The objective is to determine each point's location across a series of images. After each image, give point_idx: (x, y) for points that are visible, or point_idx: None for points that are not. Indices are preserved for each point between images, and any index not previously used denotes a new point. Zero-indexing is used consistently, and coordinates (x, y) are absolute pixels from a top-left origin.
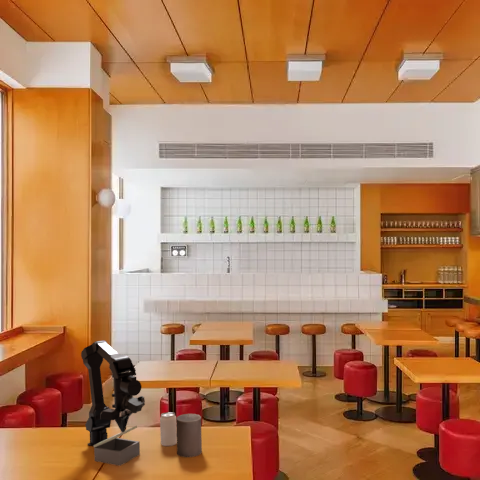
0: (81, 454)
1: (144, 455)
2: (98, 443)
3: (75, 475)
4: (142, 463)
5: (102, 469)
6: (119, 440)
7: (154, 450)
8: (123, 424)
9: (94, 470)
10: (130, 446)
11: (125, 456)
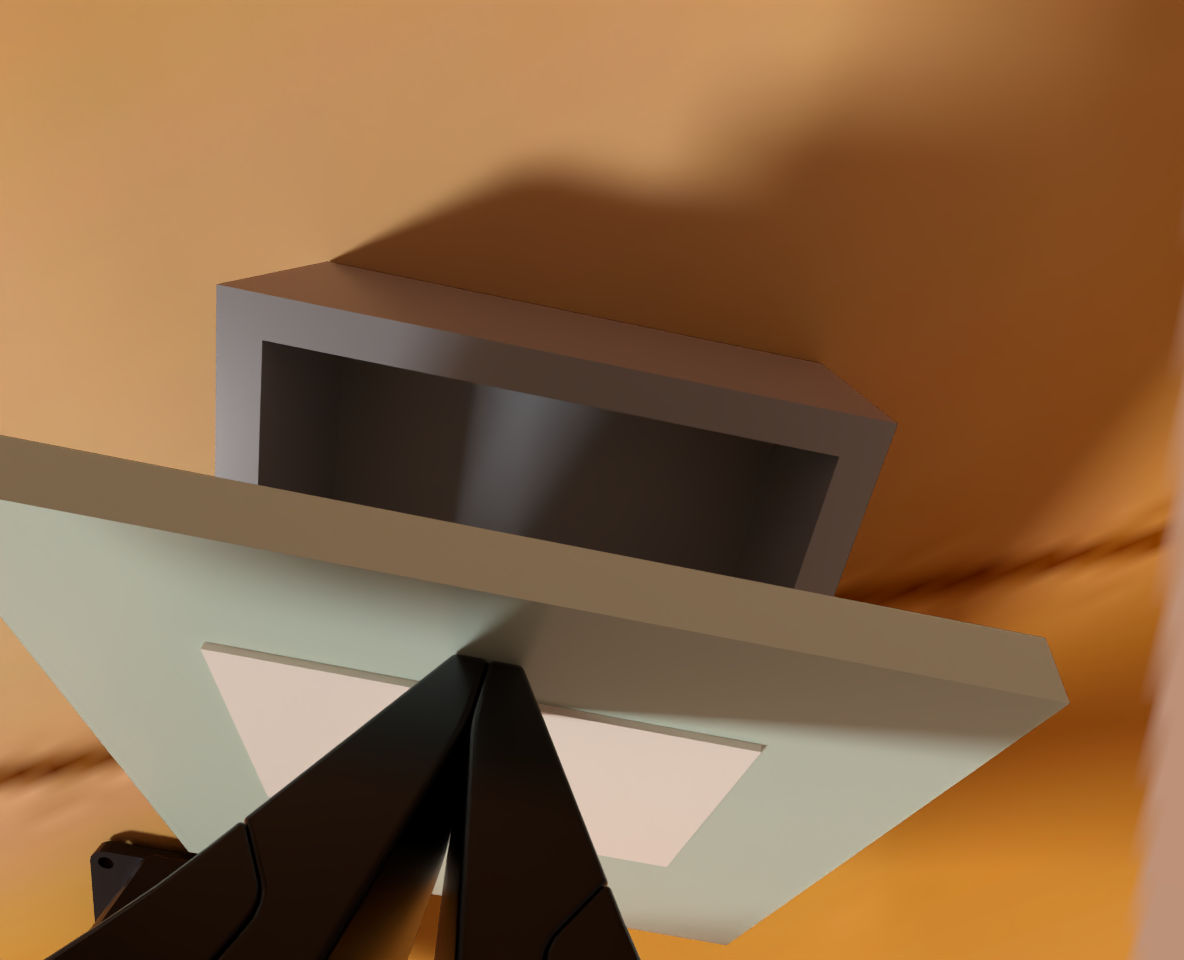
0: None
1: (338, 159)
2: (768, 912)
3: (1152, 759)
4: (677, 18)
5: (963, 546)
6: None
7: (74, 76)
8: (569, 863)
9: (998, 626)
10: (542, 349)
11: (702, 354)
